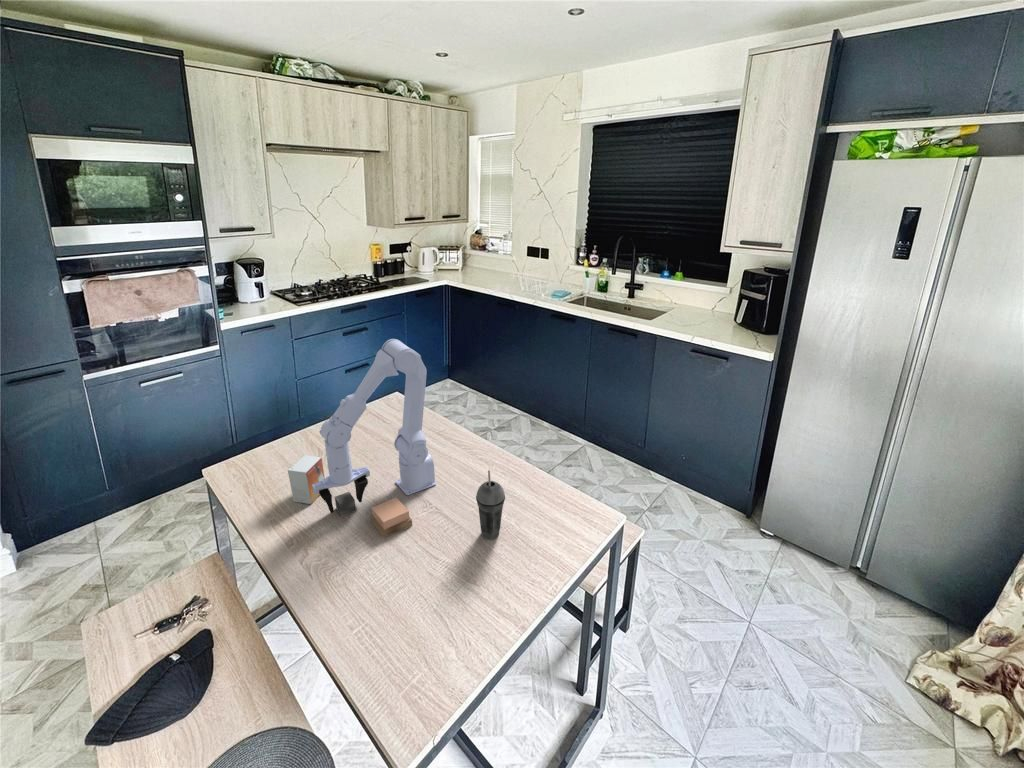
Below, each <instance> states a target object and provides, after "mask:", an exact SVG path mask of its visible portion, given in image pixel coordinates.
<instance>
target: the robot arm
mask: <svg viewBox="0 0 1024 768" xmlns="http://www.w3.org/2000/svg"><path fill="white" fill-rule="evenodd" d="M398 371H399V372H401V373H404V374H405V381H404V382H405V384H404V385H405V386H404V398H403V410H402V411H403V415H402V426H401V427H399V428H398V430H397V431H398V432H397V436H396V437H395V439H394V441H393V442H394V443H393V446H394V449H395V450H396V451H397V452H398V463H399V476H400V477H399V479H397V480H395V483H396V485H397V486H398V487H399V488H400V489H401V491H402V492H403V493H404V494H405V496H410V495H413V494H415V493H417V492H421V491H423V490H426V489H428V488H431V487H433V486H437V482H436V478H435V477H436V476H435V464H434V459H433V458H432V456H431V454H430V452H429V450H428V447H427V440H426V436H425V434H424V432H423V421H424V420H423V417H424V409H425V408H424V407H425V398H426V397H425V396H426V395H425V394H426V383H427V373H428V371H427V368H426V366H425V364H424V362H423V360H422V355H421V354H419V353H418V352H417V351H415V350H414V349H412V348H411V347H409V346H407V345H406V344H405V343H404V342H402V340H399V339H396V338H390V339H388V340H386V341H385V342H384V343H383V345H382V346H381V349H379V350H378V351H377V352H376V355H375V359H374V361H373V363H372V365H371V366H370V368H369V369H368V370H367V373H366V374H365V376H364V378H363V379H362V381H361V382H360V384H359V386H357V388H356V390H355V391H354V393H351V394H348V395H346V396H345V398H344V399H343V398H342V399H341V400H340V401H339V404H340V405H338V407H337V409H336V410H335V412H334V413H333V414H332V415H331V416H330V417H329V418H328V419H327V420H326V421H324V422H323V423H322V425H321V427H320V429H319V434H320V435H321V437H322V438H323V439H324V447H325V456H326V457H325V458H326V462H327V470H328V476H326V477H325V479H323V480H321V481H320V482H318V483H315V484H313V485H312V487H313V491H314V493H315V494H318V493H319V494H320V495H319V497H320V498H322V500H323V501H324V502H325V503H326V505H327V508H328V510H329V512H330V514H333V513H334V512H335V510H334V506H333V495H332V494H331V491H330V489H331V488H338V487H344V486H347V485H350V484H352V483H353V482H354V487H355V497H356V500H357V501H358V503H360V504H361V503H362V502H363V495H364V492H365V490H366V487H367V485H368V484H369V481H368V480H369V479H368V478H367V477H370V476H371V474H370V473H371V472H370V469H369V467H368V466H364V467H361V468H360V467H358V468H352V466H353V465H352V459H351V450H350V445H349V442H350V441H351V439H352V431H353V429H354V427H355V426H356V424H357V422H358V421H359V420H360V419H361V417H362V415H363V414H364V413H365V411H366V410H367V401H368V399H369V398H370V397H371V396H372V394H373V393H374V392H375V391H376V389H377V388H378V387H379V386H380V384H382V382H383V381H384V380H385V379H386V378H387V377H388V378H389V377H394V376H395V377H396V376H399V372H398Z"/></svg>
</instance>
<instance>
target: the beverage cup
mask: <svg viewBox="0 0 1024 768" xmlns="http://www.w3.org/2000/svg"><path fill="white" fill-rule="evenodd" d="M487 475H488V478H487V479H488V481H485V482H483V483H481V484H480V486H479V487H478V489H477V491H476V495H475V500H476V504H477V507H478V515H479V517H478V518H479V523H480V524H479V525H480V532H481V536H482V537H483V539H486V540H489V541H490V540H495V539H497V538H498V537H499V536H500V530H501V523H502V516H503V515H502V514H503V507H504V504H505V501H506V494H505V490H504V488H503V486H502V485H501V484H500V483H498V481H497V482H496V481H494V480H491V470H487Z"/></svg>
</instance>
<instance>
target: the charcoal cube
mask: <svg viewBox="0 0 1024 768" xmlns="http://www.w3.org/2000/svg"><path fill="white" fill-rule="evenodd" d="M334 502H335V508H336V510H337V512H338V513H339V515H340V516H341V517H344V516H346V515H350V514H352V513H354V512H356V511H357V508H356V500H355V498H354V496H353V495H352V493H351V492H350V491H348V492H347V491H346V492H344V493H341V494H338V495H336V496H334Z"/></svg>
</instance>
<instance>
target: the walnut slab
mask: <svg viewBox="0 0 1024 768" xmlns="http://www.w3.org/2000/svg"><path fill="white" fill-rule="evenodd" d="M369 516H370V521H371V523H372V524H373V525H374V527H375V528H376V530H377V532H379V534H380V536H382V538H383V539H385V538H387V537H389V536H391V535H394V534H395V533H398V532H400V531H402V530H405V529H408V528H410V527H412V526H413V520H412V517H410V516H409V519H408V520H406V521H404V522H401V523H399V524H397V525H395V526H392V527H390V528H388V529H385V530H384V529H383V528H382V526H381V525H380V524H379V523H378V521H377V520H376V519H375V518H374V517H373V515H372V513H371V514H370V515H369Z"/></svg>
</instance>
